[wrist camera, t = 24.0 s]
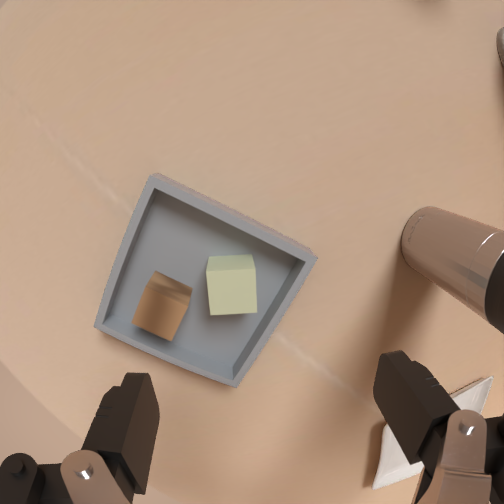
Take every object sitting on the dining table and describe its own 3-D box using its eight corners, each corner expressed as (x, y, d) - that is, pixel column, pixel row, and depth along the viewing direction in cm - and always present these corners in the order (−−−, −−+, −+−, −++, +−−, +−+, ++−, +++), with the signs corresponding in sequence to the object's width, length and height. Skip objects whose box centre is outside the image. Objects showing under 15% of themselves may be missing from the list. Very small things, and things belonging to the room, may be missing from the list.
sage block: (251, 254, 37) (255, 268, 32) (253, 293, 38) (257, 312, 34) (208, 256, 37) (205, 271, 32) (212, 296, 38) (210, 315, 33)
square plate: (459, 442, 57) (465, 451, 54) (366, 480, 57) (371, 492, 53) (487, 367, 49) (496, 376, 46) (377, 413, 49) (385, 427, 45)
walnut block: (192, 288, 38) (188, 306, 33) (177, 320, 39) (171, 341, 34) (155, 270, 37) (145, 286, 32) (141, 303, 38) (131, 322, 33)
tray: (309, 248, 38) (317, 258, 35) (235, 370, 43) (236, 388, 39) (158, 173, 34) (149, 174, 31) (103, 312, 39) (93, 326, 35)
